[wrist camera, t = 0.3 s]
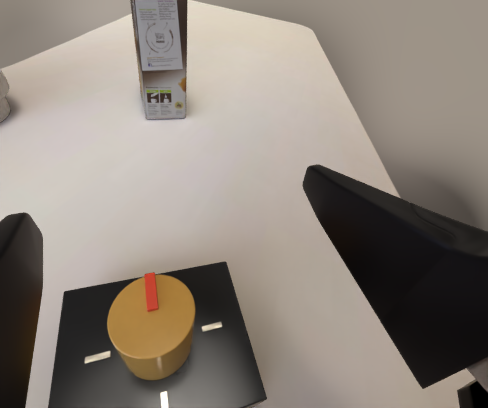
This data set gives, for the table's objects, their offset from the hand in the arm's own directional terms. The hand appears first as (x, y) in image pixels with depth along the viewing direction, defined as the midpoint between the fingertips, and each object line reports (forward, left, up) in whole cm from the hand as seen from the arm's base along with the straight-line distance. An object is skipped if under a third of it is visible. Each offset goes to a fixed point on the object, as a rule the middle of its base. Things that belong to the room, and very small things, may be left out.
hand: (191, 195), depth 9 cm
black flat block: (0, +2, -16) cm, 16 cm away
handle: (0, +2, -13) cm, 13 cm away
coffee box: (+38, -2, -17) cm, 41 cm away
